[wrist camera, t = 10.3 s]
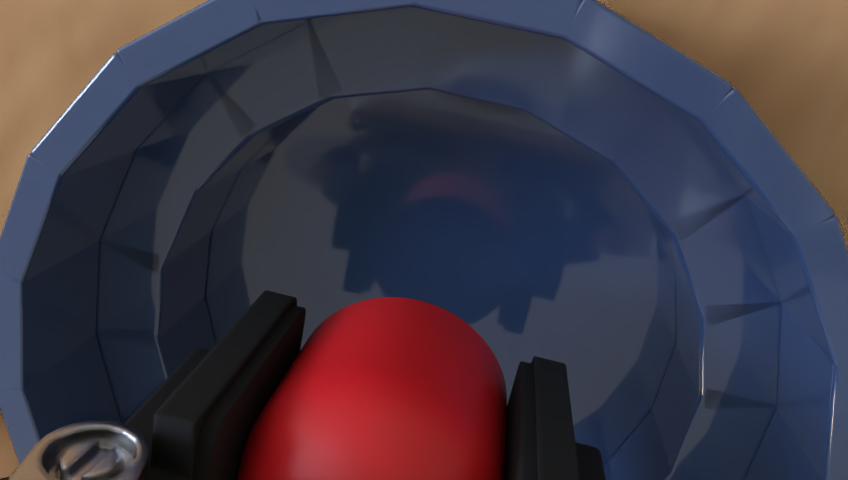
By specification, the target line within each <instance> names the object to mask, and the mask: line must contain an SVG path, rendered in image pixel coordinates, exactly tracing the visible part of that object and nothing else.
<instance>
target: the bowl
mask: <svg viewBox="0 0 848 480" xmlns="http://www.w3.org/2000/svg"><path fill="white" fill-rule="evenodd" d="M732 86H733V85H732V83H731V82H729V81H728V80H726V79H725V78H723V77H721V76H720V75H718V74H716V73H715V72H713V71H711V70H710V69H708V68H707V67H705V66H703V65H702V64H700V63H698V62H697V61H695V60H693V59H692V58H690V57H689V56H687V55H685V54H684V53H682V52H680V51H679V50H677V49H675V48H674V47H672V46H671V45H669V44H667V43H666V42H664V41H662V40H661V39H659V38H657V37H656V36H654V35H653V34H651V33H649V32H648V31H646V30H644V29H643V28H641V27H639V26H638V25H636V24H635V23H633V22H631V21H630V20H628V19H626V18H625V17H623V16H621V15H620V14H618V13H617V12H615V11H613V10H612V9H610V8H608V7H607V6H605V5H603V4H602V3H600V2H599V1H597V0H208V1H206V2H204V3H202V4H200V5H199V6H197V7H195V8H193V9H191V10H189V11H187V12H186V13H184V14H182V15H180V16H178V17H176V18H174V19H173V20H171V21H169V22H167V23H165V24H163V25H161V26H160V27H158V28H156V29H154V30H152V31H150V32H148V33H147V34H145V35H143V36H141V37H139V38H137V39H135V40H133V41H132V42H130V43H128V44H126V45H124V46H122V47H120V48H119V49H118V50H117V52H116V53H114V54H113V55H112V56H111V57H110V58H109V60H108V61H107V62H106V63H105V64H104V65H103V67H102V68H101V69H100V70H99V71H98V73H97V74H96V75H95V76H94V77H93V78H92V80H91V81H90V82H89V83H88V84H87V85H86V87H85V88H84V89H83V90H82V91H81V93H80V94H79V95H78V96H77V97H76V98H75V100H74V101H73V102H72V103H71V104H70V106H69V107H68V108H67V109H66V110H65V111H64V113H63V114H62V115H61V116H60V117H59V119H58V120H57V121H56V122H55V123H54V124H53V126H52V127H51V128H50V129H49V130H48V132H47V133H46V134H45V135H44V136H43V137H42V139H41V140H40V141H39V142H38V143H37V145H36V146H35V147H34V148H33V149H32V151H31V153H30V154H29V155H28V157H27V160H26V162H25V165H24V168H23V171H22V174H21V177H20V180H19V183H18V186H17V189H16V192H15V195H14V198H13V201H12V204H11V207H10V210H9V212H8V215H7V218H6V221H5V224H4V227H3V230H2V233H1V236H0V410H1V413H2V416H3V419H4V422H5V424H6V427H7V430H8V433H9V436H10V439H11V442H12V445H13V447H14V450H15V453H16V456H17V459H18V462H19V465H20V463H21V462H22V461H23V460H24V458H25V457H26V456H27V455H28V453H29V452H30V451H31V449H32V448H33V447H34V446H35V445H36V444H37V443H38V442H39V441H40V440H41V439H42V438H43V437H44V436H46V435H47V434H49V433H51V432H53V431H55V430H57V429H58V428H61V427H64V426H67V425H70V424H73V423H77V422H84V421H91V420H105V421H115V422H119V423H123V424H124V423H125V422H126V421H127V420H128V419H129V418H130V417H131V416H132V415H133V414H134V413H135V412H136V411H137V410H138V408H139V407H140V406H141V405H142V404H143V403H144V402H145V401H146V400H147V399H148V398H149V397H150V396H151V395H152V394H153V393H154V392H155V391H156V390H157V388H158V387H159V386H160V385H161V384H162V383H163V382H164V381H165V380H166V379H167V378H168V377H169V376H170V375H171V374H172V373H173V372H174V371H175V370H176V368H177V367H178V366H179V365H180V364H181V363H182V362H183V361H184V360H185V359H186V358H187V357H188V356H189V355H190V354H191V353H192V352H193V351H194V350H195V349H197V348H204V349H208V350H212V348H213V347H214V346H215V345H216V344H217V343H218V342H219V341H220V340H221V338H222V337H223V336H224V335H225V334H226V333H227V332H228V331H229V330H230V328H231V327H232V326H233V325H234V324H235V323H236V322H237V321H238V320H239V318H240V317H241V316H242V315H243V314H244V313H245V312H246V311H247V310H248V308H249V307H250V306H251V305H252V304H253V303H254V302H255V301H256V300H257V298H258V297H259V296H260V295H261V294H262V293H263V292H264V291H265V290H267V291H272V292H276V293H280V294H284V295H288V296H292V297H296V299H297V306H299V307H303V308H305V309H306V316H305V323H304V329H303V335H302V342H301V348H300V351H301V349H302V347H303V346H304V344H305V343H306V341H307V340H308V338H309V337H310V335H311V334H312V333H313V332H314V330H315V329H316V328H317V327H318V326H319V325H320V324H321V323H322V322H323V321H324V320H325V319H327V318H328V317H329V316H331V315H332V314H334V313H335V312H337V311H338V310H340V309H343V308H345V307H347V306H349V305H351V304H354V303H357V302H360V301H364V300H369V299H374V298H384V297H399V298H409V299H415V300H420V301H424V302H427V303H430V304H433V305H436V306H438V307H440V308H443V309H445V310H447V311H449V312H451V313H452V314H454V315H456V316H457V317H459V318H461V319H462V320H463V321H464V322H466V323H467V324H468V325H470V326H471V327H472V328H473V329H474V330H475V331H476V332H477V333H478V334H479V335H480V336H481V337H482V338H483V339H484V341H485V342H486V343H487V344H488V346H489V347H490V348H491V350H492V352H493V353H494V355H495V357H496V358H497V360H498V363H499V365H500V367H501V370H502V372H503V376H504V380H505V384H506V392H507V404H508V401H509V397H510V394H511V390H512V387H513V383H514V380H515V376H516V373H517V369H518V366H519V364H520V362H521V361H523V362H527V363H531V361H532V359H533V357H534V356H537V357H541V358H545V359H549V360H553V361H557V362H561V363H565V364H566V369H567V377H568V386H569V394H570V402H571V411H572V419H573V427H574V436H575V442H577V443H581V444H585V445H589V446H593V447H596V448H598V449H599V450H600V452H601V456H602V461H603V467H604V473H605V478H606V480H848V249H847V246H846V242H845V239H844V236H843V232H842V229H841V226H840V223H839V219H838V217H837V216H836V215H834V210H833V208H832V207H831V206H830V205H829V203H828V202H827V201H826V200H825V198H824V197H823V196H822V195H821V193H820V192H819V191H818V189H817V188H816V187H815V186H814V184H813V183H812V182H811V181H810V179H809V178H808V177H807V176H806V174H805V173H804V172H803V171H802V169H801V168H800V167H799V165H798V164H797V163H796V162H795V160H794V159H793V158H792V157H791V155H790V154H789V153H788V152H787V150H786V149H785V148H784V146H783V145H782V144H781V143H780V141H779V140H778V139H777V138H776V136H775V135H774V134H773V133H772V131H771V130H770V129H769V128H768V126H767V125H766V124H765V122H764V121H763V120H762V119H761V117H760V116H759V115H758V114H757V112H756V111H755V110H754V109H753V107H752V106H751V105H750V103H749V102H748V101H747V100H746V98H745V97H744V96H743V95H742V93H741V92H740V91H739V90H738V89H737V88H735V87H732Z"/></svg>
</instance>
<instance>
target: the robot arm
mask: <svg viewBox="0 0 848 480" xmlns="http://www.w3.org/2000/svg"><path fill="white" fill-rule="evenodd" d="M305 316H306V309H305V308H303V307H299V306H297V299H296V297H292V296H288V295H284V294H280V293H276V292H272V291H267V290H265V291H264V292H263V293H262V294H261V295H260V296H259V297H258V298H257V300H256V301H255V302H254V303H253V304H252V305H251V306H250V307H249V308H248V310H247V311H246V312H245V313H244V314H243V315H242V316H241V317H240V318H239V320H238V321H237V322H236V323H235V324H234V325H233V326H232V327H231V328H230V330H229V331H228V332H227V333H226V334H225V335H224V336H223V337H222V338H221V340H220V341H219V342H218V343H217V344H216V345H215V346H214V347H213V348H212V350H208V349H204V348H197V349H195V350H194V351H193V352H192V353H191V354H190V355H189V356H188V357H187V358H186V359H185V360H184V361H183V362H182V363H181V364H180V365H179V366H178V367H177V368H176V370H175V371H174V372H173V373H172V374H171V375H170V376H169V377H168V378H167V379H166V380H165V381H164V382H163V383H162V384H161V385H160V386H159V387H158V388H157V390H156V391H155V392H154V393H153V394H152V395H151V396H150V397H149V398H148V399H147V400H146V401H145V402H144V403H143V404H142V405H141V406H140V407H139V408H138V410H137V411H136V412H135V413H134V414H133V415H132V416H131V417H130V418H129V419H128V420H127V421H126V422H125V423H124V424H123V423H119V422H115V421H105V420H91V421H84V422H77V423H73V424H70V425H67V426H64V427H61V428H58V429H57V430H55V431H53V432H51V433H49V434H47V435H46V436H44V437H43V438H42V439H41V440H40V441H39V442H38V443H37V444H36V445H35V446H34V447H33V448H32V449H31V451H30V452H29V453H28V455H27V456H26V457H25V458H24V460H23V461H22V462H21V463H20V465H19V466H18V467H17V469H16V470H15V471H14V472H13V474H12V475H11V476H10V477H6V478H2V479H0V480H237V479H238V470H239V465H240V461H241V456H242V453H243V450H244V447H245V444H246V441H247V438H248V436H249V433H250V431H251V429H252V427H253V425H254V423H255V422H256V420H257V418H258V417H259V415H260V413H261V411H262V410H263V408H264V407H265V405H266V404H267V402H268V400H269V399H270V397H271V396H272V394H273V393H274V391H275V390H276V388H277V386H278V385H279V383H280V382H281V380H282V379H283V377H284V376H285V374H286V372H287V371H288V369H289V368H290V366H291V365H292V363H293V361H294V360H295V358H296V357H297V355H298V354H299V352H300V348H301V342H302V335H303V329H304V323H305ZM504 480H606V478H605V473H604V467H603V461H602V456H601V452H600V450H599V449H598V448H596V447H593V446H589V445H585V444H581V443H577V442H575V436H574V427H573V419H572V411H571V402H570V394H569V386H568V377H567V369H566V364H565V363H561V362H557V361H553V360H549V359H545V358H541V357H537V356H534V357H533V359H532V361H531V363H527V362H523V361H521V362H520V364H519V366H518V369H517V373H516V376H515V380H514V383H513V387H512V390H511V394H510V397H509V401H508V404H507V413H506V440H505V466H504Z"/></svg>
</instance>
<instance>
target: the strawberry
mask: <svg viewBox="0 0 848 480" xmlns="http://www.w3.org/2000/svg"><path fill="white" fill-rule="evenodd" d="M506 413H507V392H506V384H505V380H504V376H503V372H502V370H501V367H500V365H499V363H498V360H497V358H496V357H495V355H494V353H493V352H492V350H491V348H490V347H489V346H488V344H487V343H486V342H485V341H484V339H483V338H482V337H481V336H480V335H479V334H478V333H477V332H476V331H475V330H474V329H473V328H472V327H471V326H470V325H468V324H467V323H466V322H464V321H463V320H462V319H461V318H459V317H457V316H456V315H454V314H452V313H451V312H449V311H447V310H445V309H443V308H440V307H438V306H436V305H433V304H430V303H427V302H424V301H420V300H415V299H409V298H399V297H384V298H374V299H369V300H364V301H360V302H357V303H354V304H351V305H349V306H347V307H345V308H343V309H340V310H338V311H337V312H335V313H334V314H332V315H331V316H329V317H328V318H327V319H325V320H324V321H323V322H322V323H321V324H320V325H319V326H318V327H317V328H316V329H315V330H314V332H313V333H312V334H311V335H310V337H309V338H308V340H307V341H306V343H305V344H304V346H303V347H302V349H301V351H300V352H299V354H298V355H297V357H296V358H295V360H294V361H293V363H292V365H291V366H290V368H289V369H288V371H287V372H286V374H285V376H284V377H283V379H282V380H281V382H280V383H279V385H278V386H277V388H276V390H275V391H274V393H273V394H272V396H271V397H270V399H269V400H268V402H267V404H266V405H265V407H264V408H263V410H262V411H261V413H260V415H259V417H258V418H257V420H256V422H255V423H254V425H253V427H252V429H251V431H250V433H249V436H248V438H247V441H246V444H245V447H244V450H243V453H242V456H241V461H240V465H239V470H238V479H237V480H504V466H505V440H506Z"/></svg>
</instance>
